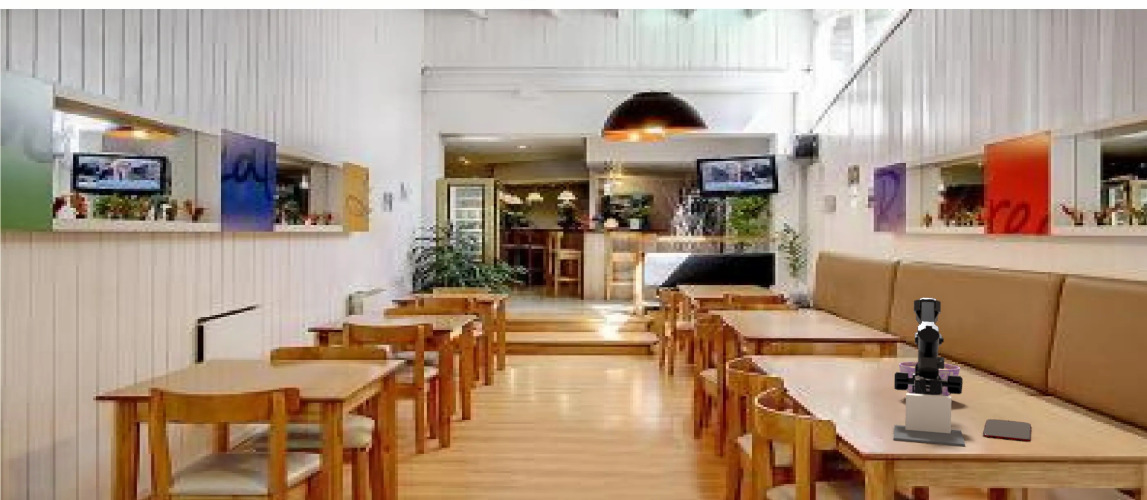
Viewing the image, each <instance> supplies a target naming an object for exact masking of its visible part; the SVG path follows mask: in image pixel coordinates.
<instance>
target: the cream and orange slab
mask: <svg viewBox="0 0 1147 500" xmlns="http://www.w3.org/2000/svg"><path fill="white" fill-rule="evenodd" d="M904 426H905V430H916V431H928V432H940V433H951V430H952V396H951V395H949V396H939V395H925V394H911V393H909V392H906V393H905V425H904Z"/></svg>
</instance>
